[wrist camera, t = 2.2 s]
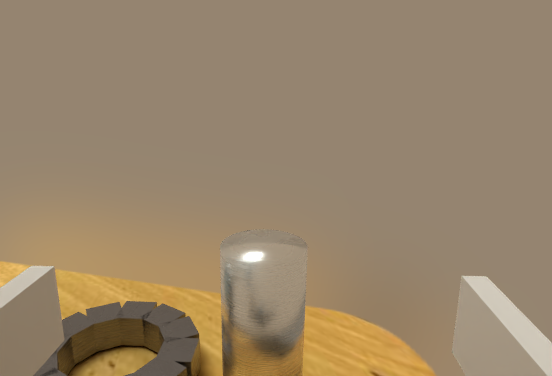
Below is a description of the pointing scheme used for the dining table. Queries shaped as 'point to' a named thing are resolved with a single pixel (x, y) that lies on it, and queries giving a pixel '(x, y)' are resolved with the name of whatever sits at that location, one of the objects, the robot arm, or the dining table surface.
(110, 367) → the dining table surface
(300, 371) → the cylinder
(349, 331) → the dining table surface
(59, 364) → the ring
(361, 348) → the dining table surface
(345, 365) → the dining table surface
